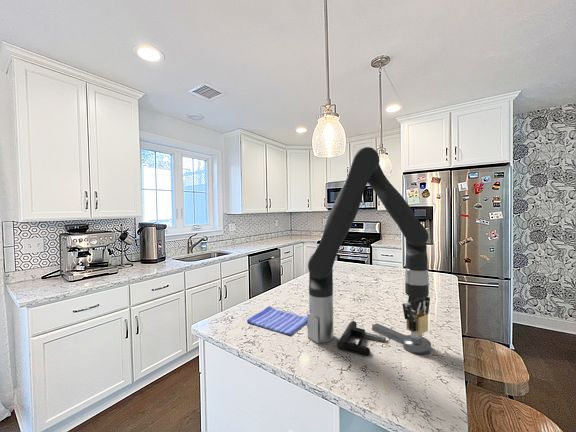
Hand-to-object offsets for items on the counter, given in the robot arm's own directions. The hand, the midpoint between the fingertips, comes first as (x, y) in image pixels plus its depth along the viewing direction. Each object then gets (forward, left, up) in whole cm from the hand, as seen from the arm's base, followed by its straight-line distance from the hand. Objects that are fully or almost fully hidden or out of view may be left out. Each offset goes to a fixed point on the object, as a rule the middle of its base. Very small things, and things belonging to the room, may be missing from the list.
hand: (416, 328), depth 94 cm
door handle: (-12, +15, -8) cm, 20 cm away
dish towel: (-28, +48, -8) cm, 56 cm away
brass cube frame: (0, 0, -1) cm, 1 cm away
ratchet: (0, +7, -7) cm, 10 cm away
